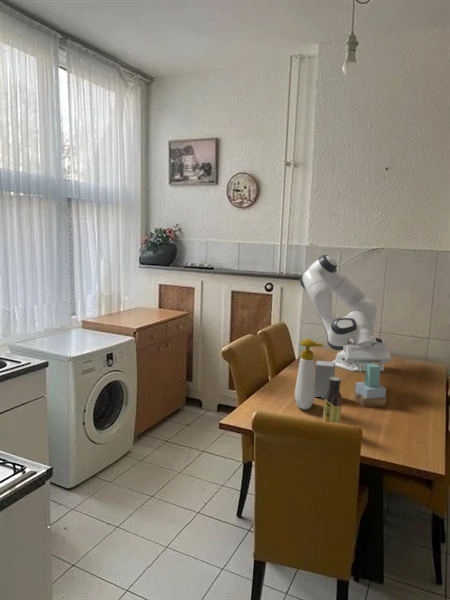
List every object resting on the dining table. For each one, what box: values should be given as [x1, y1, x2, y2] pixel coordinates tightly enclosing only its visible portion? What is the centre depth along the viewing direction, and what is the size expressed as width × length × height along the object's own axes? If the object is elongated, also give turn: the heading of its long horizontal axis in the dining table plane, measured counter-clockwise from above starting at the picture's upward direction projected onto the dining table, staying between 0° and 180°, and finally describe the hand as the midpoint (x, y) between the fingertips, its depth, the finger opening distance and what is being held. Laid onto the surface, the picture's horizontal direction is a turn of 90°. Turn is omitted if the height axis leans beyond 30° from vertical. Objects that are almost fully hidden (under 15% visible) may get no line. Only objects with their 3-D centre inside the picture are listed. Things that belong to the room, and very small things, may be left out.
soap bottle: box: [294, 338, 324, 410], centre depth 181 cm, size 13×10×29 cm
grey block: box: [354, 381, 387, 399], centre depth 191 cm, size 9×9×4 cm
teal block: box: [364, 363, 381, 387], centre depth 189 cm, size 4×4×9 cm
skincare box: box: [314, 360, 336, 399], centre depth 195 cm, size 8×7×16 cm
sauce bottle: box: [322, 376, 342, 423], centre depth 161 cm, size 6×6×20 cm
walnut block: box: [353, 389, 387, 408], centre depth 191 cm, size 10×10×4 cm
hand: (371, 370), depth 190 cm, fingers open, 8 cm apart
